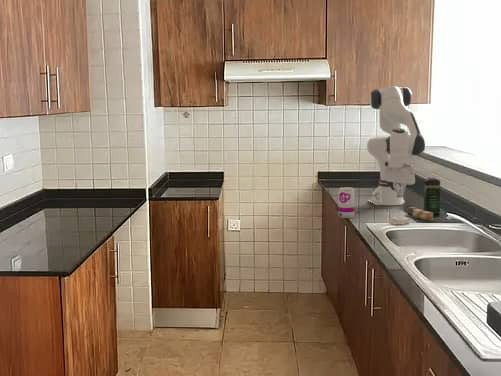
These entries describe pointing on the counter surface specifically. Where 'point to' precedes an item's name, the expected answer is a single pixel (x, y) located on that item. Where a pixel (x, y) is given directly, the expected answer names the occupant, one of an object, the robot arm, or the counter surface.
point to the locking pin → (399, 195)
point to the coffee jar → (432, 195)
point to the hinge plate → (418, 217)
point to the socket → (399, 220)
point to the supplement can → (346, 202)
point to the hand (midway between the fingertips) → (399, 192)
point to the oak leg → (420, 213)
